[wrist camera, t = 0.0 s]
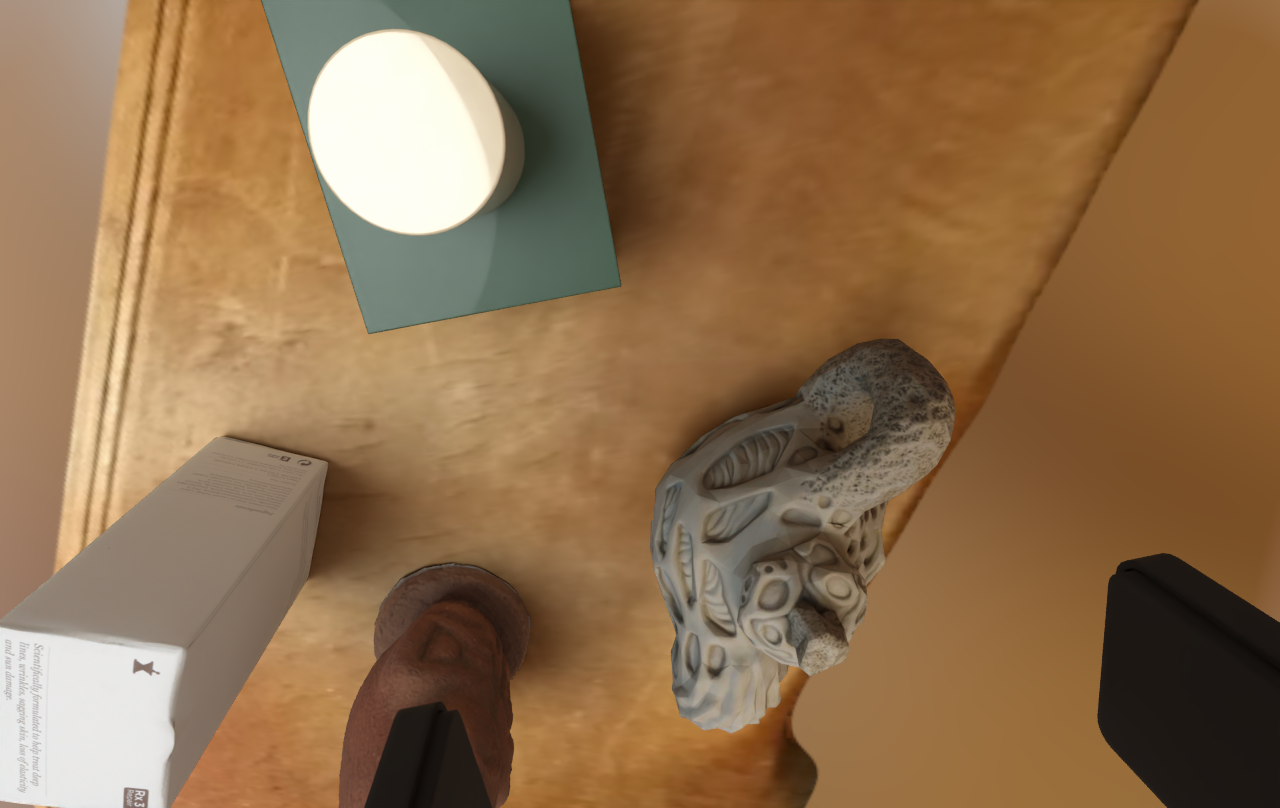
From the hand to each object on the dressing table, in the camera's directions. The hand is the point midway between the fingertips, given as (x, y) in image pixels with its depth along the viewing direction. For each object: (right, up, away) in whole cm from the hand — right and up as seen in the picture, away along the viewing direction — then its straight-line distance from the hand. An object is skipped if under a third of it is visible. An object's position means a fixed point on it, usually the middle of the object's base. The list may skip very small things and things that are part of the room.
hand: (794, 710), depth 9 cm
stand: (-10, +16, +22) cm, 29 cm away
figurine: (-13, -9, +31) cm, 35 cm away
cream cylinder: (-9, +14, +14) cm, 22 cm away
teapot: (+4, 0, +29) cm, 29 cm away
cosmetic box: (-23, -2, +27) cm, 35 cm away
